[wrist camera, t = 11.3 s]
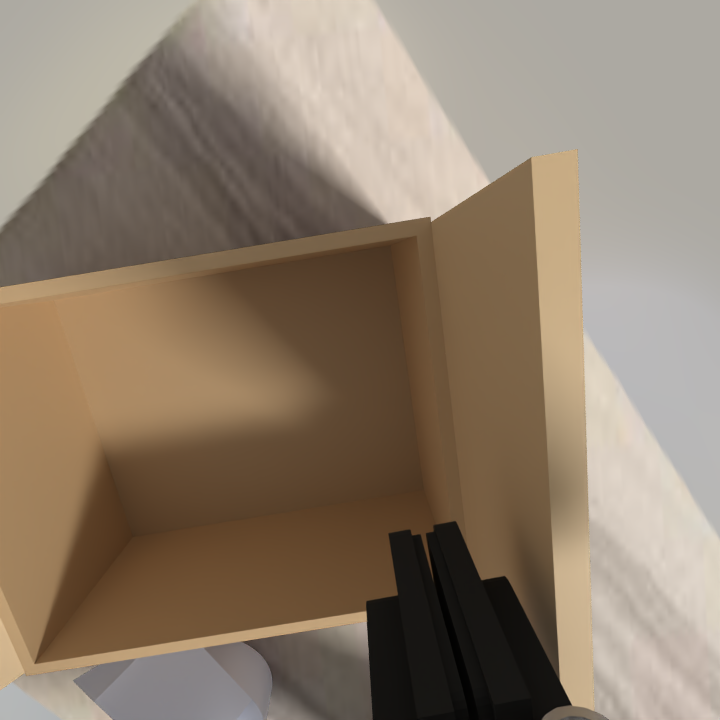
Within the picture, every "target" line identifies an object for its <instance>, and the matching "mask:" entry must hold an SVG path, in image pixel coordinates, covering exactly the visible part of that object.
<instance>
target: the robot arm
mask: <svg viewBox="0 0 720 720" xmlns="http://www.w3.org/2000/svg"><path fill="white" fill-rule="evenodd" d="M433 530H434V532H429V533H426V539H427V545H428V551H429V557H430V562H431V568H432V574H433V578H432V574H431V570H430V567H429V563H428V559H427V556H426V552H425V548H424V545H423V541H422V537H421V534H417V535H412V534H411V530H410V529H408V530H403V531H397V532H392V533H388V535H389V541H390V548H391V554H392V560H393V567H394V573H395V579H396V586H397V592H398V595H396V596H391V597H385V598H380V599H374V600H369V601H366V615H367V631H368V647H369V664H370V680H371V696H372V712H373V720H609V719H607V718H606V717H604V716H603V715H601V714H599V713H597V712H594V711H592V710H590V709H588V708H584V707H578V706H572V704H571V702H570V700H569V698H568V696H567V694H566V692H565V690H564V688H563V686H562V684H561V682H560V680H559V678H558V676H557V674H556V672H555V670H554V668H553V666H552V664H551V663H550V661H549V659H548V657H547V655H546V653H545V651H544V649H543V647H542V645H541V643H540V641H539V639H538V637H537V635H536V633H535V631H534V629H533V627H532V625H531V623H530V621H529V619H528V617H527V615H526V613H525V611H524V609H523V607H522V605H521V603H520V601H519V599H518V597H517V595H516V594H515V592H514V590H513V588H512V586H511V584H510V582H509V580H508V579H507V578H506V577H505V576H501V577H495V578H490V579H485V580H481V578H480V576H479V574H478V571H477V569H476V567H475V564H474V562H473V559H472V557H471V555H470V552H469V550H468V548H467V545H466V543H465V541H464V538H463V536H462V533H461V531H460V529H459V526H458V524H457V522H456V521H452V522H447V523H441V524H436V525H433ZM433 580H434V581H433Z"/></svg>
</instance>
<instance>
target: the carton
mask: <svg viewBox="0 0 720 720" xmlns="http://www.w3.org/2000/svg"><path fill="white" fill-rule="evenodd" d="M452 521H456V522H457V524H458V526H459V529H460V531H461V533H462V536H463V538H464V541H465V543H466V545H467V539H466V530H465V521H464V512H463V503H462V495H461V486H460V477H459V468H458V459H457V450H456V441H455V432H454V423H453V414H452V405H451V396H450V388H449V379H448V370H447V361H446V352H445V343H444V334H443V325H442V316H441V307H440V298H439V289H438V281H437V272H436V263H435V254H434V245H433V236H432V227H431V218H430V217H426V218H420V219H414V220H408V221H402V222H396V223H390V224H383V225H377V226H371V227H365V228H359V229H353V230H347V231H341V232H335V233H329V234H322V235H316V236H310V237H304V238H298V239H292V240H286V241H280V242H274V243H268V244H262V245H255V246H249V247H243V248H237V249H231V250H225V251H219V252H213V253H207V254H201V255H194V256H188V257H182V258H176V259H170V260H164V261H158V262H152V263H146V264H140V265H134V266H127V267H121V268H115V269H109V270H103V271H97V272H91V273H85V274H79V275H73V276H66V277H60V278H54V279H48V280H42V281H36V282H30V283H24V284H18V285H12V286H5V287H0V618H1V620H2V623H3V625H4V627H5V629H6V632H7V634H8V636H9V638H10V641H11V643H12V645H13V647H14V649H15V652H16V654H17V656H18V658H19V661H20V663H21V665H22V667H23V670H24V672H25V674H26V676H29V675H36V674H42V673H48V672H54V671H61V670H67V669H73V668H79V667H86V666H92V665H98V664H104V663H111V662H117V661H123V660H129V659H136V658H142V657H148V656H154V655H161V654H167V653H173V652H179V651H185V650H192V649H198V648H204V647H210V646H217V645H223V644H229V643H235V642H242V641H248V640H254V639H260V638H267V637H273V636H279V635H285V634H292V633H298V632H304V631H310V630H317V629H323V628H329V627H335V626H342V625H348V624H354V623H360V622H367V615H366V601H369V600H374V599H380V598H385V597H391V596H396V595H398V592H397V586H396V579H395V573H394V567H393V560H392V554H391V548H390V541H389V535H388V533H392V532H397V531H403V530H408V529H410V530H411V534H412V535H417V534H421V537H422V541H423V545H424V548H425V552H426V556H427V559H428V563H429V567H430V570H431V574H432V568H431V562H430V557H429V551H428V545H427V539H426V533H429V532H434V530H433V525H436V524H441V523H447V522H452ZM432 578H433V574H432ZM433 581H434V580H433Z"/></svg>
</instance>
